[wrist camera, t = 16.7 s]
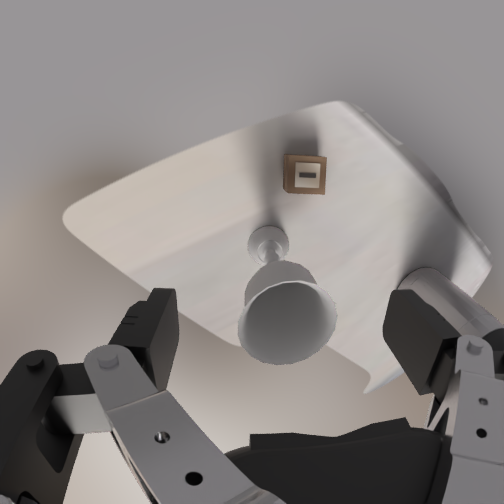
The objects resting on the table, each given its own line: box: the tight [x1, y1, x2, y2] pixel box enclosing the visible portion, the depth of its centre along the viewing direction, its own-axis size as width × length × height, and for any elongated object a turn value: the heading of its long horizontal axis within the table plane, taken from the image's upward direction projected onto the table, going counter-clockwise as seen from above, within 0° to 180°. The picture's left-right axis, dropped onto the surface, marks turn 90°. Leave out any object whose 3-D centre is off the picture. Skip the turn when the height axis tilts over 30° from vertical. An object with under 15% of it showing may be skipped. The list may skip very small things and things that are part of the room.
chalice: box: [238, 226, 337, 365], centre depth 30 cm, size 7×7×18 cm
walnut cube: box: [283, 154, 327, 195], centre depth 34 cm, size 4×4×4 cm
